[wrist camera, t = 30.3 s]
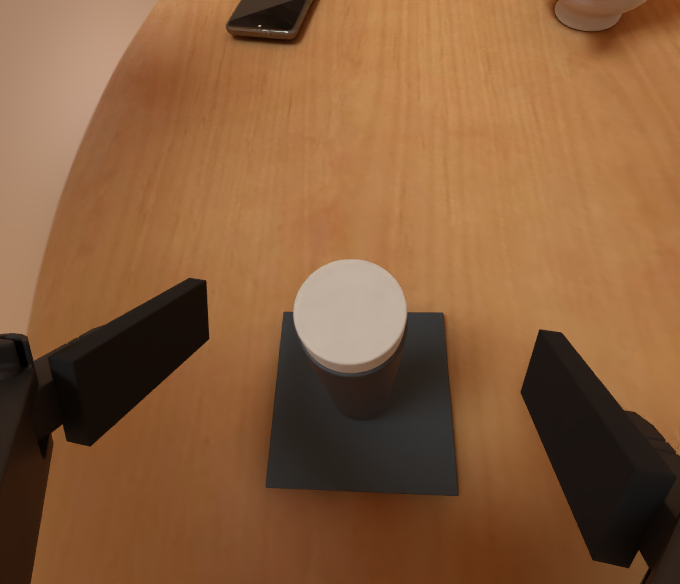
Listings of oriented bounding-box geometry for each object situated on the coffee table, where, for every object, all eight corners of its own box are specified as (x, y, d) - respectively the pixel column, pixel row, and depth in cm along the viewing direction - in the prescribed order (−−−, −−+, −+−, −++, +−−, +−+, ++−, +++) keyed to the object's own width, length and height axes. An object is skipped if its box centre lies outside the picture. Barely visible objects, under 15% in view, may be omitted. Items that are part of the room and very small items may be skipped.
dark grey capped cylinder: (332, 422, 21) (283, 367, 9) (334, 366, 23) (294, 255, 11) (390, 424, 21) (414, 369, 9) (389, 366, 22) (408, 254, 10)
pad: (268, 486, 21) (265, 487, 20) (286, 316, 25) (283, 311, 24) (455, 495, 20) (458, 496, 19) (441, 316, 24) (443, 312, 23)
